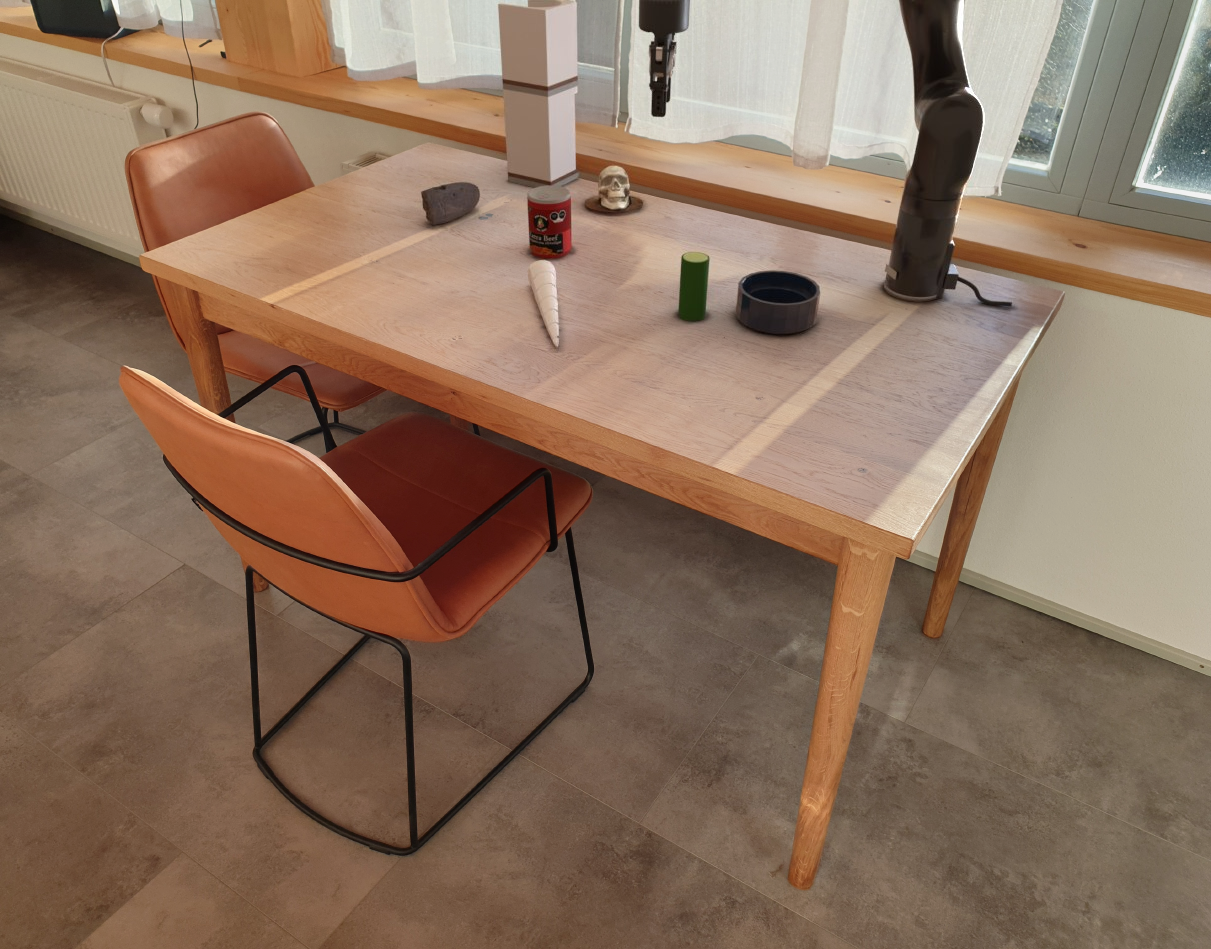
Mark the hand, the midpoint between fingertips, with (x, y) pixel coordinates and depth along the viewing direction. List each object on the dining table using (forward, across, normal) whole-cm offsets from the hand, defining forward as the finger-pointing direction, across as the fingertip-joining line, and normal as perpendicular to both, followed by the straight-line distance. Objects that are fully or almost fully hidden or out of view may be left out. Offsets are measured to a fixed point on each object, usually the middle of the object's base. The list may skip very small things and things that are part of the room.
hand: (660, 108), depth 147 cm
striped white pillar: (+28, +48, +29) cm, 63 cm away
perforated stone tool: (+28, +22, +42) cm, 56 cm away
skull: (+29, +34, +12) cm, 46 cm away
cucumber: (+28, -14, -7) cm, 32 cm away
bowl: (+29, -13, -21) cm, 38 cm away
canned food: (+28, +9, +20) cm, 36 cm away
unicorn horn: (+29, -16, +16) cm, 36 cm away
